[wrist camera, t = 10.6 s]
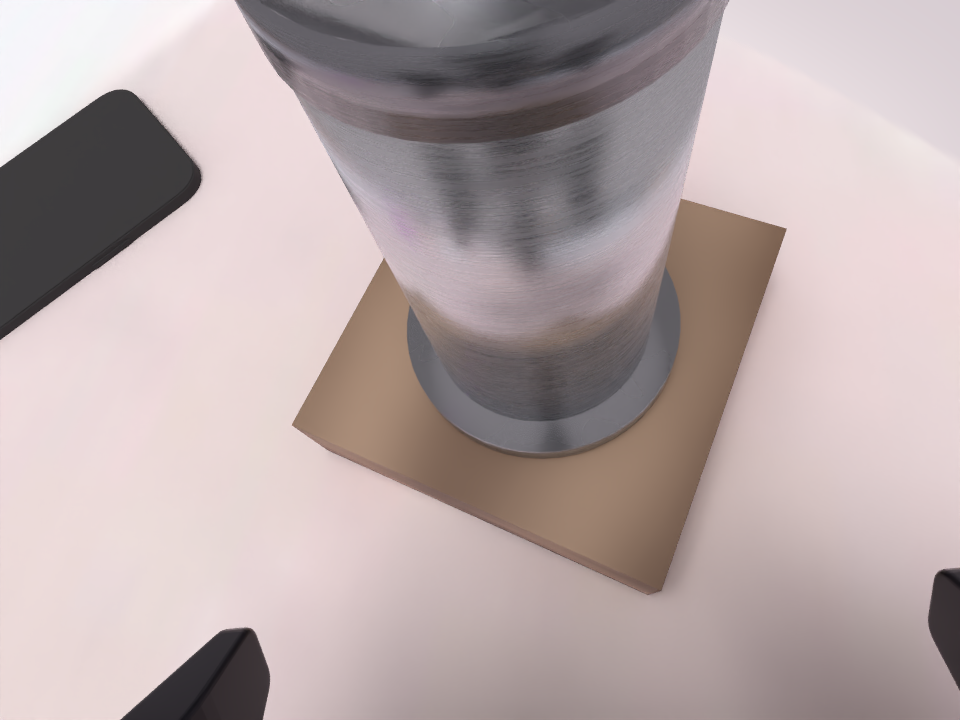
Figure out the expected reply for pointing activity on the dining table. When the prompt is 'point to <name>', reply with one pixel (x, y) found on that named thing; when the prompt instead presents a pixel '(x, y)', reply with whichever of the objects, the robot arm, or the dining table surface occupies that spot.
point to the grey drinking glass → (514, 190)
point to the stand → (576, 478)
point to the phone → (84, 199)
